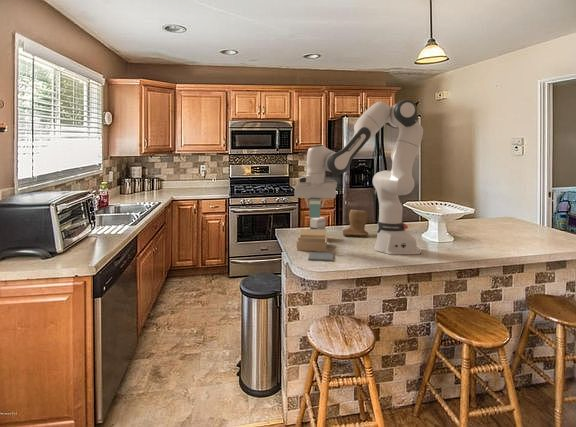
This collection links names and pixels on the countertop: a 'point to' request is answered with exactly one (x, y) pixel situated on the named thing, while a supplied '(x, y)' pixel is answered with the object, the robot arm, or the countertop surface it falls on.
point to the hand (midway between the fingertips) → (314, 207)
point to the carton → (312, 240)
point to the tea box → (314, 207)
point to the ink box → (318, 223)
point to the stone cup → (356, 223)
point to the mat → (320, 256)
